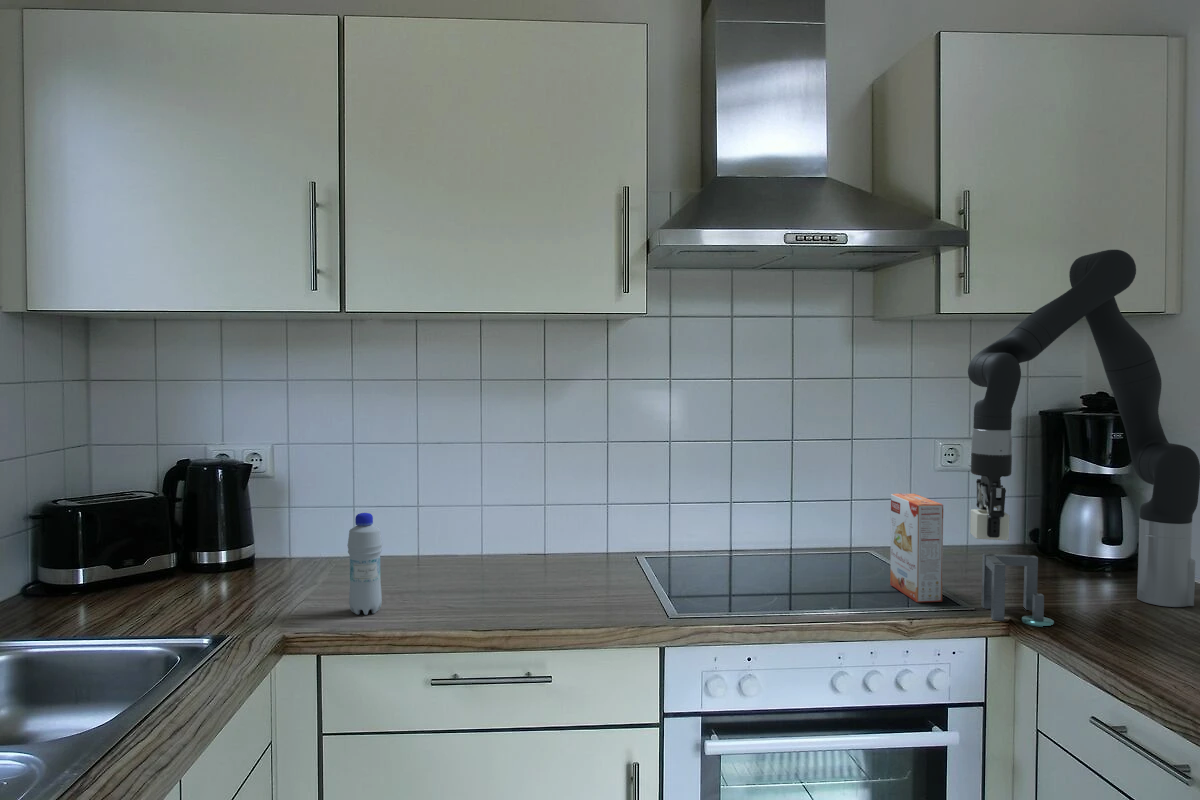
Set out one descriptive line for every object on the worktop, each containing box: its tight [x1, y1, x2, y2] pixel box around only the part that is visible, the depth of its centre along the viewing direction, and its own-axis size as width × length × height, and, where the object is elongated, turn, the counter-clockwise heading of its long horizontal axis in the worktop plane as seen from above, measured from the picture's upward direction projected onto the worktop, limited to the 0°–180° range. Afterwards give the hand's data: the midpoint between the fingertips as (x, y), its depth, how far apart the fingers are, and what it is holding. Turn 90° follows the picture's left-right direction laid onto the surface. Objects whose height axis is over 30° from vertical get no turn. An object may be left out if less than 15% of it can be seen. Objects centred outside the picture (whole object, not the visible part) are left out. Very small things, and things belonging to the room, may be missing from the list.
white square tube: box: [969, 508, 1010, 541], centre depth 177 cm, size 6×6×5 cm
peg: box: [1021, 592, 1055, 628], centre depth 168 cm, size 6×6×6 cm
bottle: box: [347, 512, 383, 616], centre depth 174 cm, size 7×7×20 cm
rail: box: [980, 553, 1039, 622], centre depth 173 cm, size 10×10×11 cm
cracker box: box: [889, 493, 944, 604], centre depth 188 cm, size 14×6×21 cm, turn 4°
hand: (989, 533), depth 177 cm, fingers closed on white square tube, 6 cm apart
